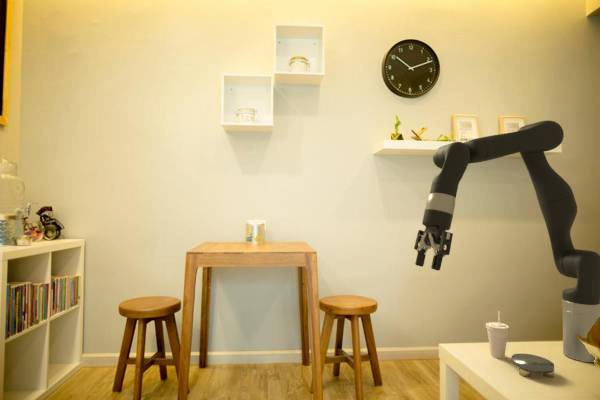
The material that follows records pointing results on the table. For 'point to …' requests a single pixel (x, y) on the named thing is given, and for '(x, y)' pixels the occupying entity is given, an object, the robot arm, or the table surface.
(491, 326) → the smoothie
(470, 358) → the table surface
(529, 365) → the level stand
